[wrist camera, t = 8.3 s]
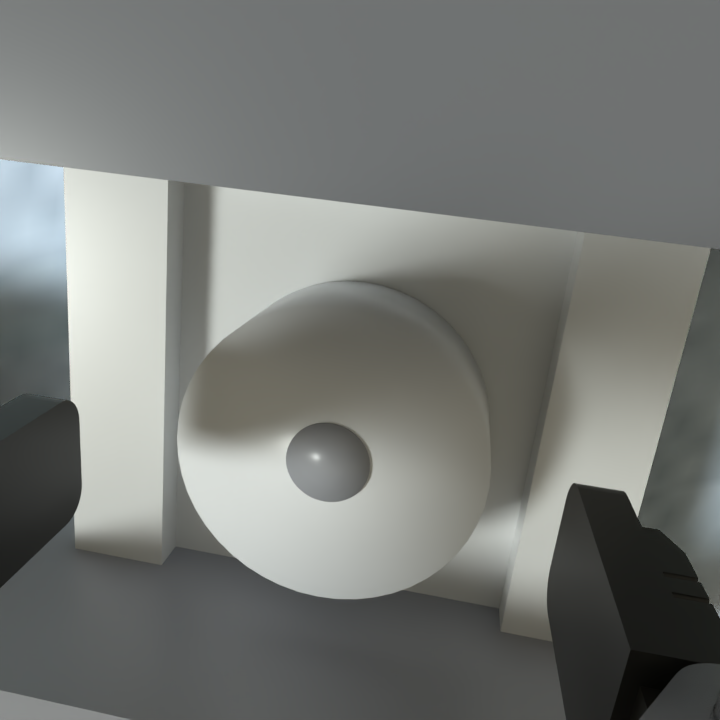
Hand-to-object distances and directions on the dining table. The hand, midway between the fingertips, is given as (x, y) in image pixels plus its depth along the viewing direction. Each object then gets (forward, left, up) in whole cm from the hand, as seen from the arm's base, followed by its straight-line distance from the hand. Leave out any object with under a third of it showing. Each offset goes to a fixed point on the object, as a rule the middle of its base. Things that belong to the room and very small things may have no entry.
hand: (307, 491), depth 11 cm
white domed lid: (0, 0, -4) cm, 4 cm away
